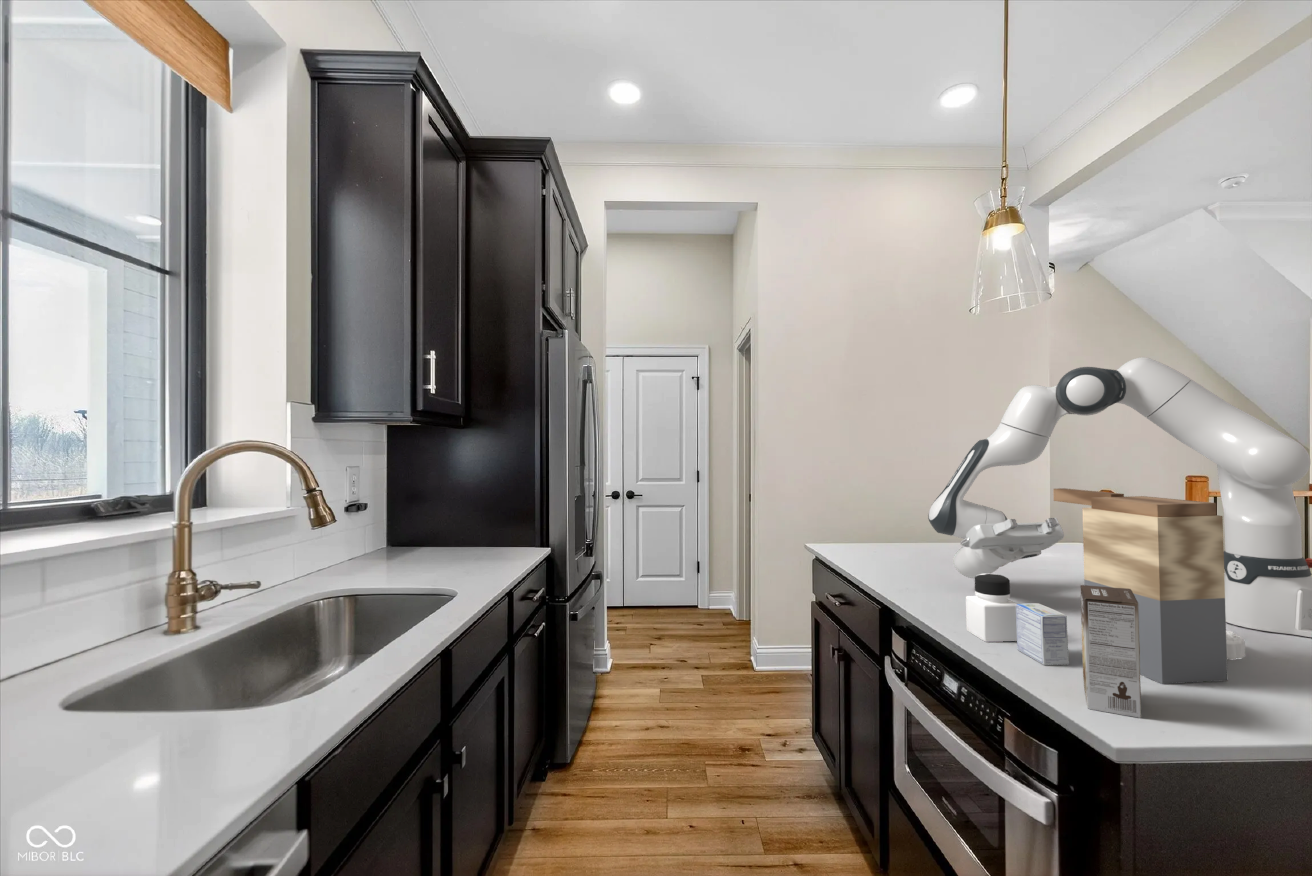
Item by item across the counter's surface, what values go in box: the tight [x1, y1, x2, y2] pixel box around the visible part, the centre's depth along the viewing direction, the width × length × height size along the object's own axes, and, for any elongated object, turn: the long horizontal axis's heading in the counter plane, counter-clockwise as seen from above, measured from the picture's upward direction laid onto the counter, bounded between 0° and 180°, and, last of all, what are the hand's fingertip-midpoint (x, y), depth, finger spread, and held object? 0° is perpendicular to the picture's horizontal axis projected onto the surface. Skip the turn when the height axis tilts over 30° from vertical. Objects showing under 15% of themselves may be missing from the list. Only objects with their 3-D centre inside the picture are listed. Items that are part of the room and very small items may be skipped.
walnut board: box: [1052, 487, 1217, 517], centre depth 108 cm, size 10×27×2 cm, turn 4°
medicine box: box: [1016, 602, 1070, 666], centre depth 105 cm, size 8×4×9 cm, turn 179°
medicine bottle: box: [965, 573, 1019, 643], centre depth 117 cm, size 7×7×12 cm
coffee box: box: [1080, 584, 1142, 719], centre depth 87 cm, size 9×6×16 cm
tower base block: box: [1083, 578, 1228, 685], centre depth 101 cm, size 11×15×13 cm
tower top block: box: [1081, 507, 1225, 601], centre depth 101 cm, size 11×15×13 cm
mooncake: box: [1226, 629, 1246, 661], centre depth 109 cm, size 12×12×4 cm
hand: (1034, 521), depth 129 cm, fingers open, 8 cm apart
